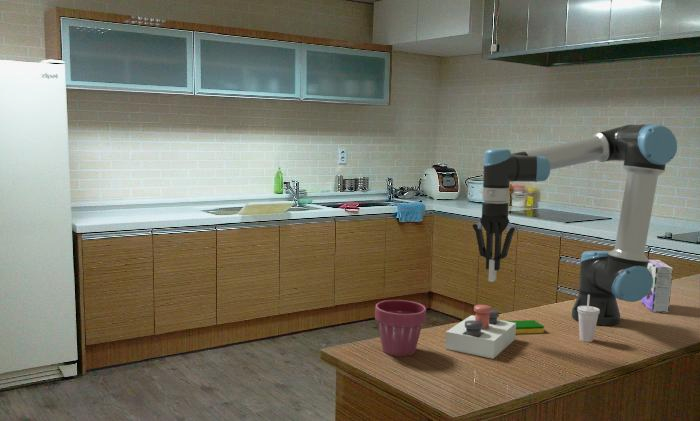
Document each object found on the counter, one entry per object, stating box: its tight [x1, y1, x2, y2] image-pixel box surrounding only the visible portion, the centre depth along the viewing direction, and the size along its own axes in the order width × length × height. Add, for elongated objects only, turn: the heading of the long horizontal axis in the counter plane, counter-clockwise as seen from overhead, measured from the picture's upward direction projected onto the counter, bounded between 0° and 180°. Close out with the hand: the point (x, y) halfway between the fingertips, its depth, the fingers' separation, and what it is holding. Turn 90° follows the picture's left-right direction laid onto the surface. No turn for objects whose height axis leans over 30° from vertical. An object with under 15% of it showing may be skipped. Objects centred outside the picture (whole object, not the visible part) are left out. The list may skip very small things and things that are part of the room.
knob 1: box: [465, 320, 483, 337], centre depth 181 cm, size 5×5×6 cm
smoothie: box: [577, 294, 600, 343], centre depth 192 cm, size 6×6×14 cm
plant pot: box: [374, 299, 427, 357], centre depth 179 cm, size 14×14×13 cm
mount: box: [444, 314, 516, 360], centre depth 187 cm, size 14×20×5 cm
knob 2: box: [489, 309, 500, 325], centre depth 192 cm, size 5×5×6 cm
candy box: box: [640, 259, 674, 313], centre depth 231 cm, size 14×6×16 cm, turn 172°
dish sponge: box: [506, 319, 545, 335], centre depth 202 cm, size 7×14×2 cm, turn 100°
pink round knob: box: [473, 304, 493, 329], centre depth 186 cm, size 5×5×6 cm
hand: (492, 280), depth 192 cm, fingers closed
